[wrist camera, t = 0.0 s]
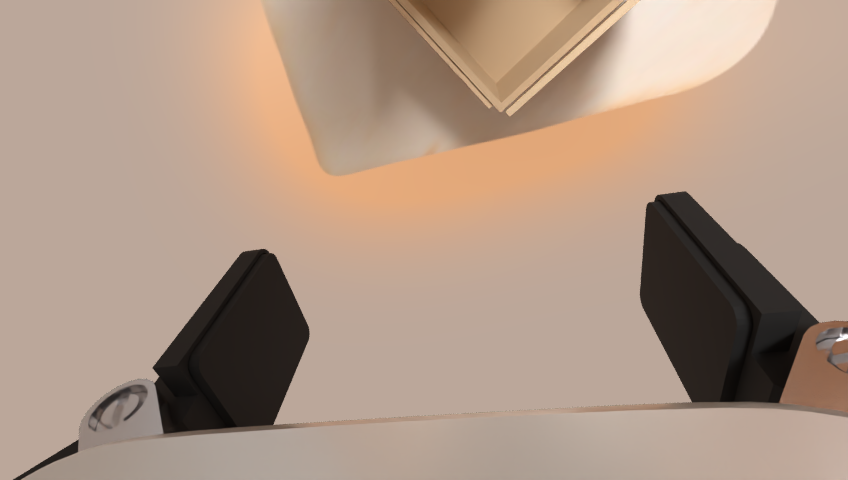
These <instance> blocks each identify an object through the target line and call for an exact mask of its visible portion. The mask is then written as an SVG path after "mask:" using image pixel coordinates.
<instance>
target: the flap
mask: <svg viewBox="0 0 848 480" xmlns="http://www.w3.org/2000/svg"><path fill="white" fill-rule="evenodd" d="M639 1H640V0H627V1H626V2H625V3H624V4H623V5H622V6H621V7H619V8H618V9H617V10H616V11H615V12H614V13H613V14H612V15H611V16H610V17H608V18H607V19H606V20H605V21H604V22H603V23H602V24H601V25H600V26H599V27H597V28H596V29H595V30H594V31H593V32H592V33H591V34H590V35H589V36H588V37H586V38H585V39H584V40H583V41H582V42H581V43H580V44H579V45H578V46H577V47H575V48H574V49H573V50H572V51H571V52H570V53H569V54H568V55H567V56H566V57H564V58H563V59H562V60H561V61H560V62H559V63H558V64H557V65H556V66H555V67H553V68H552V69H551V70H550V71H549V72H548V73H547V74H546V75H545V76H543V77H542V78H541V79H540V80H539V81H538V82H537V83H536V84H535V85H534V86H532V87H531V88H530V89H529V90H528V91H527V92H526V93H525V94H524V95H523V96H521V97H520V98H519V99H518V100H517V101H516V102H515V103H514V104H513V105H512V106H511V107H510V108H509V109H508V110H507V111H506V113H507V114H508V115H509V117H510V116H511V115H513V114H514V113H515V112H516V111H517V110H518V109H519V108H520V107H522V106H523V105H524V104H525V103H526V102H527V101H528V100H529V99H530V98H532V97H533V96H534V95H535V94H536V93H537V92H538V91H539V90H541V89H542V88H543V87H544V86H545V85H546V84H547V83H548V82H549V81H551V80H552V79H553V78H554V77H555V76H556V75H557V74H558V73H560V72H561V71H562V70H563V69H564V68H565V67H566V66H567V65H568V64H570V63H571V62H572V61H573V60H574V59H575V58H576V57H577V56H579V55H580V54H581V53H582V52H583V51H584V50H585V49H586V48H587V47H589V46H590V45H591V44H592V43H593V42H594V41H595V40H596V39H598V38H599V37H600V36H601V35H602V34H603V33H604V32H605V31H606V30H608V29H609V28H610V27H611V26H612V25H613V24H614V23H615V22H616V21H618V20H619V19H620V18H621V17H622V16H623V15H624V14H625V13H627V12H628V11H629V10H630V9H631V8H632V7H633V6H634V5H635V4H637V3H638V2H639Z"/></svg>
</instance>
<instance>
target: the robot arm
mask: <svg viewBox="0 0 848 480" xmlns="http://www.w3.org/2000/svg"><path fill="white" fill-rule="evenodd" d="M640 298H641V303H642V306H643V309H644V311H645V312H646V314H647V317H648V318H649V320H650V322H651V324H652V326H653V328H654V330H655V332H656V334H657V336H658V338H659V340H660V341H661V343H662V345H663V347H664V349H665V351H666V353H667V355H668V357H669V359H670V361H671V362H672V364H673V366H674V368H675V370H676V372H677V374H678V376H679V378H680V380H681V382H682V384H683V385H684V388H685V389H686V391H687V393H688V395H689V397H690V399H691V401H692V403H691V402H690V403H665V404H639V405H612V406H594V407H575V408H555V409H537V410H519V411H500V412H480V413H463V414H445V415H428V416H411V417H394V418H378V419H362V420H344V421H328V422H314V423H297V424H283V425H273V424H274V421H275V419H276V417H277V414H278V412H279V410H280V407H281V405H282V402H283V400H284V398H285V395H286V392H287V390H288V388H289V386H290V383H291V381H292V378H293V376H294V373H295V371H296V369H297V366H298V364H299V362H300V359H301V357H302V354H303V352H304V350H305V347H306V345H307V342H308V340H309V327H308V325H307V322H306V320H305V318H304V316H303V314H302V312H301V309H300V307H299V305H298V303H297V301H296V299H295V296H294V294H293V292H292V290H291V288H290V286H289V284H288V281H287V279H286V277H285V275H284V273H283V271H282V268H281V266H280V264H279V262H278V260H277V258H276V256H275V255H274V254H272V253H269V252H268V251H267V250H265V249H260V250H253V251H245V252H243V253H241V254H240V255H239V257H238V258H237V260H236V261H235V262H234V263H233V265H232V266H231V267H230V268H229V270H228V271H227V272H226V274H225V275H224V276H223V277H222V279H221V280H220V281H219V283H218V284H217V285H216V286H215V288H214V289H213V290H212V292H211V293H210V294H209V295H208V297H207V298H206V299H205V301H204V302H203V303H202V305H201V306H200V307H199V308H198V310H197V311H196V312H195V314H194V315H193V316H192V317H191V319H190V320H189V321H188V323H187V324H186V325H185V326H184V328H183V329H182V331H181V332H180V333H179V334H178V336H177V337H176V338H175V339H174V341H173V342H172V343H171V345H170V346H169V347H168V348H167V350H166V351H165V352H164V354H163V355H162V356H161V357H160V359H159V360H158V361H157V363H156V364H155V365H154V366H153V369H154V370H155V372H156V373H157V374H158V375H159V378H158V379H157V381H156V382H155V383H153V381H150V380H148V379H137V380H133V381H129V382H127V383H124V384H122V385H120V386H118V387H116V388H114V389H113V390H111V391H110V392H108V393H106V394H105V395H104V396H103V397H101V398H100V399H99V400H98V401H97V402H96V403H95V404H94V405H93V406H92V407H91V408H90V409H89V410H88V411H87V413H86V414H85V416H84V418H83V419H82V421H81V424H80V428H79V440H77V441H76V442H74V443H72V444H71V445H69V446H67V447H66V448H64V449H62V450H61V451H59V452H58V453H56V454H54V455H53V456H51V457H49V458H48V459H46V460H44V461H43V462H41V463H40V464H38V465H36V466H35V467H33V468H31V469H30V470H28V471H27V472H25V473H24V474H22V475H20V476H18V477H17V478H15V479H13V480H848V321H829V322H822V323H819V322H818V321H817V320H816V319H815V318H814V317H813V316H812V315H811V314H810V313H809V312H808V311H807V310H806V309H805V308H804V307H803V306H802V305H801V304H800V303H799V302H798V301H797V300H796V299H795V298H794V297H793V296H792V295H791V294H790V292H789V291H787V289H786V288H785V287H783V285H782V284H780V282H779V281H778V280H777V279H775V277H773V275H772V274H771V273H770V272H769V271H767V270H766V268H765V267H764V266H763V265H762V264H761V263H759V261H758V260H757V259H756V258H755V257H754V256H753V255H752V254H751V253H750V252H749V251H748V250H747V249H746V248H745V247H743V246H742V245H741V244H739V243H736V242H735V241H734V240H733V239H732V238H731V237H730V236H729V235H728V234H727V232H726V231H724V229H723V228H722V227H721V226H720V225H719V224H718V223H717V222H716V221H715V220H714V219H713V218H712V217H711V216H710V215H709V214H708V213H707V212H706V211H705V210H704V209H703V208H702V207H701V206H700V205H699V204H698V203H697V202H696V201H695V200H694V199H693V198H692V197H691V196H690V195H689V194H688V193H687V192H677V193H669V194H662V195H657V196H656V198H655V201H654V202H649V203H648V204H647V208H646V218H645V232H644V246H643V261H642V273H641V287H640Z"/></svg>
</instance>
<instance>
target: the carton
mask: <svg viewBox="0 0 848 480" xmlns="http://www.w3.org/2000/svg"><path fill="white" fill-rule="evenodd" d="M388 1H389V2H390V3H391V4H392V5H393V6H394V7H395V8H396V9H397V10H398V11H399V12H400V13H401V15H402V16H403V17H404V18H405V19H406V20H407V21H408V22H409V23H410V24H411V25H412V26H413V27H414V29H415V30H416V31H417V32H418V33H419V34H420V35H421V36H422V37H423V38H424V39H425V40H426V41H427V43H428V44H429V45H430V46H431V47H432V48H433V49H434V50H435V51H436V52H437V53H438V54H439V55H440V57H441V58H442V59H443V60H444V61H445V62H446V63H447V64H448V65H449V66H450V67H451V68H452V69H453V71H454V72H455V73H456V74H457V75H458V76H459V77H460V78H461V79H462V80H463V81H464V82H465V83H466V85H467V86H468V87H469V88H470V89H471V90H472V91H473V92H474V93H475V94H476V95H477V96H478V97H479V99H480V100H481V101H482V102H483V103H484V104H485V105H486V106H487V107H488V108H489V109H490V108H491V107H492V106H493V105H494V106H495V108H496V109H497V110H498V111H499V112H500V113H501V112H502V111H503V110H504V109H505V108H506V107H507V106H509V105H510V104H511V103H512V102H513V101H514V100H515V99H516V98H517V97H518V96H519V95H521V94H522V93H523V92H524V91H525V90H526V89H527V88H528V87H529V86H530V85H532V84H533V83H534V82H535V81H536V80H537V79H538V78H539V77H540V76H541V75H543V74H544V73H545V72H546V71H547V70H548V69H549V68H550V67H551V66H552V65H553V64H555V63H556V62H557V61H558V60H559V59H560V58H561V57H562V56H563V55H564V54H566V53H567V52H568V51H569V50H570V49H571V48H572V47H573V46H574V45H575V44H577V43H578V42H579V41H580V40H581V39H582V38H583V37H584V36H585V35H586V34H588V33H589V32H590V31H591V30H592V29H593V28H594V27H595V26H596V25H597V24H598V23H600V22H601V21H602V20H603V19H604V18H605V17H606V16H607V15H608V14H609V13H611V12H612V11H613V10H614V9H615V8H616V7H617V6H618V5H619V4H620V3H622V2H623V1H624V0H388ZM492 104H493V105H492Z"/></svg>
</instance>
